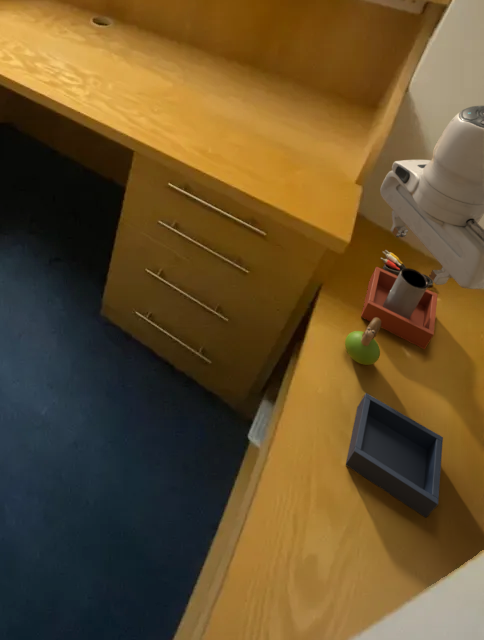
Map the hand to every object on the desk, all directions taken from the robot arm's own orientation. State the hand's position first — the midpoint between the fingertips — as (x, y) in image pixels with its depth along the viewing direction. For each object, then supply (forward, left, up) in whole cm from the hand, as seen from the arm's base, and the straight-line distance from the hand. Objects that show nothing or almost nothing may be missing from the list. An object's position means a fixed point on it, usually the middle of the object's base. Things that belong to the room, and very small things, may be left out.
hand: (415, 256), depth 86 cm
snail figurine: (+5, +4, -24) cm, 24 cm away
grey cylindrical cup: (-8, -5, -23) cm, 25 cm away
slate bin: (+10, +19, -23) cm, 32 cm away
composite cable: (-16, -13, -24) cm, 31 cm away
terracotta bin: (-8, -5, -23) cm, 25 cm away
